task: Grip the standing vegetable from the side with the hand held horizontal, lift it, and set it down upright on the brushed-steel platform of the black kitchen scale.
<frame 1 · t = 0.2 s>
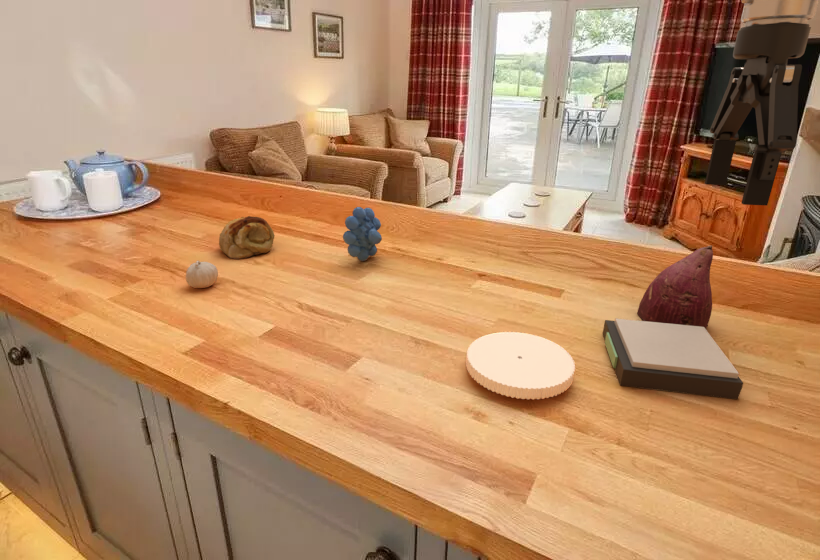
hand: (732, 193, 69), 22 cm above the counter, tool pointing down, fingers open, 13 cm apart
scale: (662, 363, 69), on the counter
grapes: (367, 262, 104), on the counter
garlic: (204, 286, 91), on the counter
vegetable: (671, 321, 81), on the counter
pastry: (249, 249, 110), on the counter
plastic lid: (517, 374, 66), on the counter
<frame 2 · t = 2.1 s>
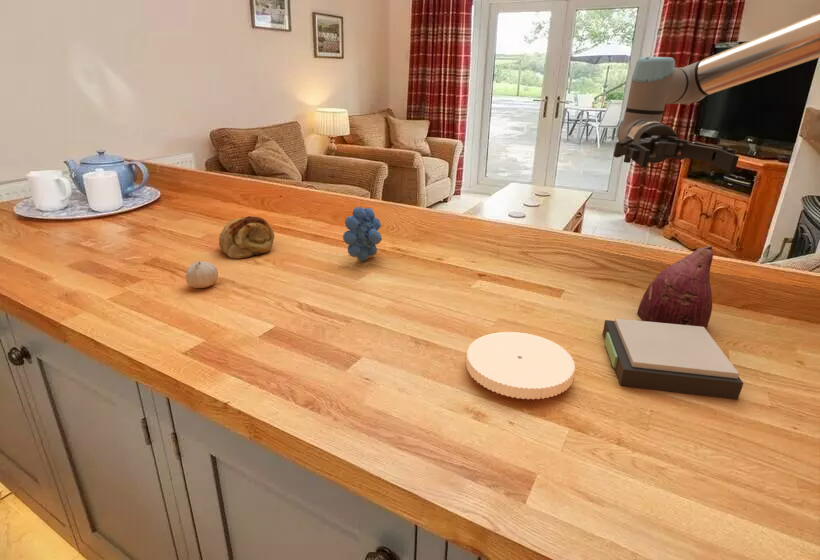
hand: (689, 161, 80), 24 cm above the counter, tool horizontal, fingers open, 13 cm apart
nothing on the counter moved.
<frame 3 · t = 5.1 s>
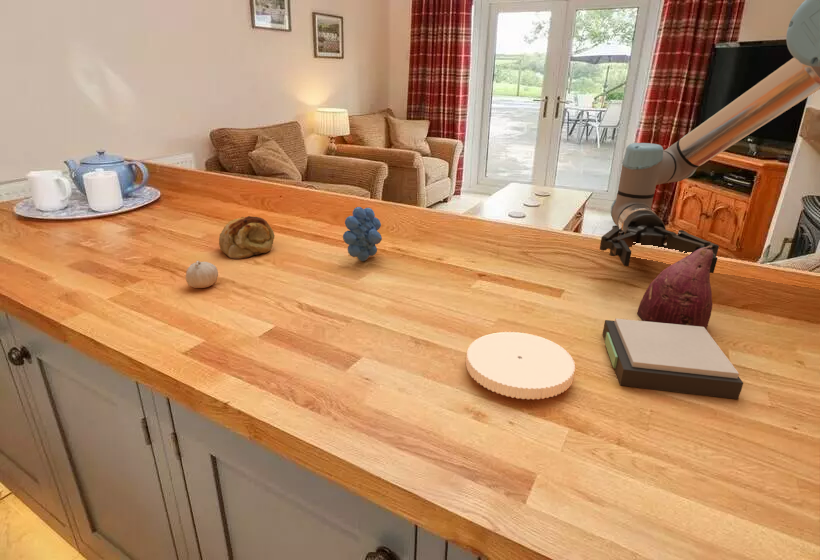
hand: (669, 262, 84), 8 cm above the counter, tool horizontal, fingers open, 13 cm apart
nothing on the counter moved.
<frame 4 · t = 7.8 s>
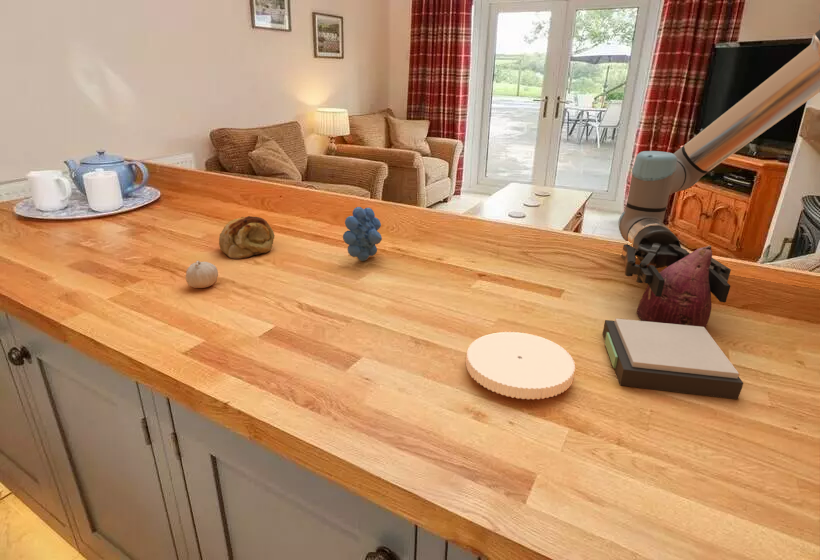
hand: (692, 291, 73), 8 cm above the counter, tool horizontal, fingers closed on vegetable, 8 cm apart
vegetable: (670, 321, 81), on the counter, touching gripper
everything else where it was.
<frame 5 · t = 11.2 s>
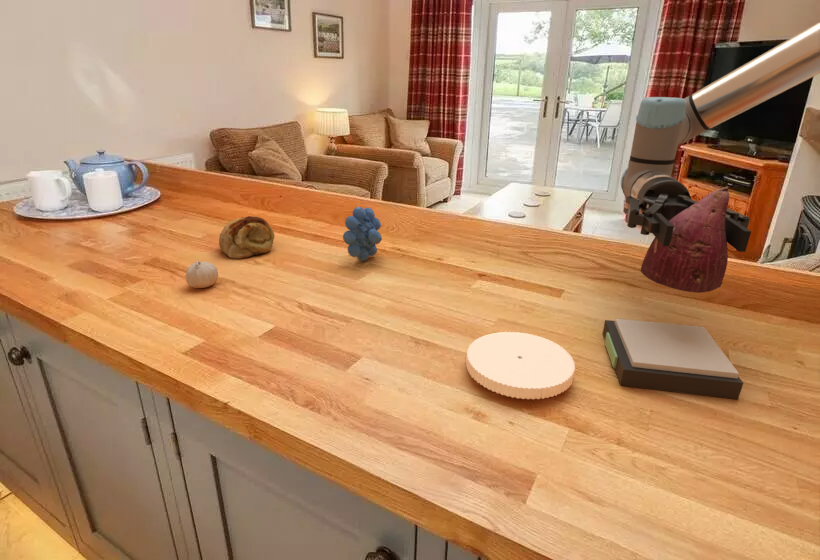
hand: (706, 238, 63), 18 cm above the counter, tool horizontal, fingers closed on vegetable, 8 cm apart
vegetable: (679, 279, 70), point 10 cm above the counter, touching gripper
everything else where it was.
when the fingers open (11 cm above the counter, at t = 14.6 s): vegetable stays where it is, resting on scale.
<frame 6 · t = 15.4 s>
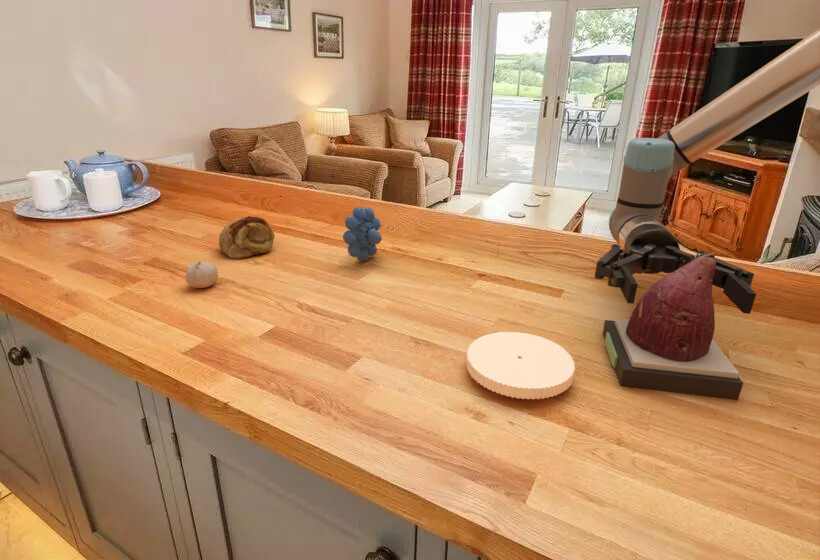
hand: (690, 298, 61), 11 cm above the counter, tool horizontal, fingers open, 13 cm apart
vegetable: (665, 342, 68), point 3 cm above the counter, touching scale
everything else where it was.
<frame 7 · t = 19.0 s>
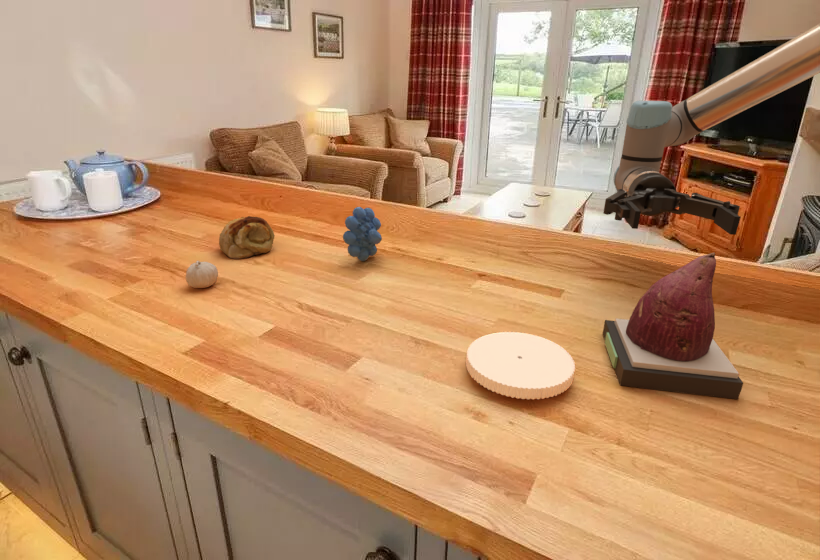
hand: (685, 222, 73), 17 cm above the counter, tool horizontal, fingers open, 13 cm apart
nothing on the counter moved.
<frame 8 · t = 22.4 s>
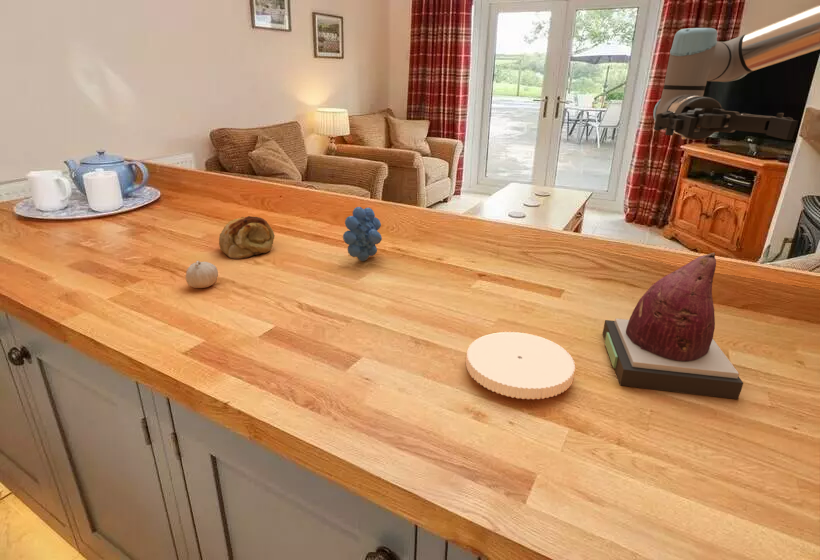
hand: (741, 128, 73), 30 cm above the counter, tool horizontal, fingers open, 13 cm apart
nothing on the counter moved.
at the end: vegetable inside the target area on the scale (0.4 cm from its centre), point 3.1 cm above the scale's base; vegetable tilted 0°; the gripper is holding nothing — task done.
